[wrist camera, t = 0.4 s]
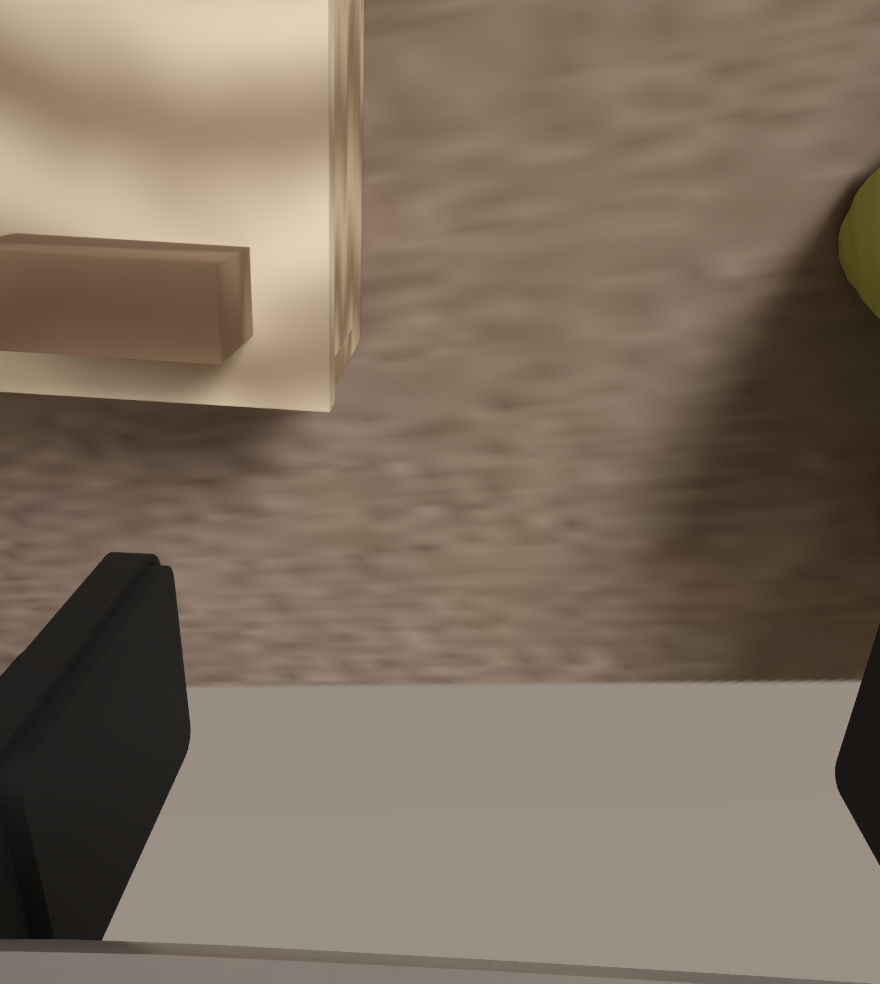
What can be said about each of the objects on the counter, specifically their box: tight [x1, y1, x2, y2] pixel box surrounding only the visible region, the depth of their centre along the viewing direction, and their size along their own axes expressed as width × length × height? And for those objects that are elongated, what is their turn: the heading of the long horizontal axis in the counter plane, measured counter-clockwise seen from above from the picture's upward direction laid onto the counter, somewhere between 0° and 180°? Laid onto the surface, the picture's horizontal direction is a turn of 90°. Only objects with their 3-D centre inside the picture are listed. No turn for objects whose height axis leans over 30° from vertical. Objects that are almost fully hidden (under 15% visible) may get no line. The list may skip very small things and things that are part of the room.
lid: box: [0, 0, 335, 412], centre depth 24 cm, size 20×13×5 cm, turn 177°
